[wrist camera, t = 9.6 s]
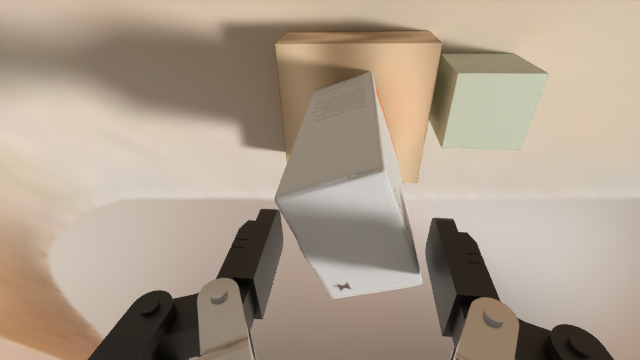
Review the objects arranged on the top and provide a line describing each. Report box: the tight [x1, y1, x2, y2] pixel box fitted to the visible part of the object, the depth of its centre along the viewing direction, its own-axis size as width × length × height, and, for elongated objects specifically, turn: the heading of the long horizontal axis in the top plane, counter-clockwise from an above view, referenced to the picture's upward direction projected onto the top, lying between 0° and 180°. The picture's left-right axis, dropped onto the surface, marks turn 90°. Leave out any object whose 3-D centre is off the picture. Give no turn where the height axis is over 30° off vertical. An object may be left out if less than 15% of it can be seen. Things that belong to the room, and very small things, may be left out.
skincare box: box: [275, 72, 423, 299], centre depth 17 cm, size 6×4×12 cm
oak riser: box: [275, 31, 442, 183], centre depth 24 cm, size 10×10×4 cm
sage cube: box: [429, 53, 549, 150], centre depth 22 cm, size 5×5×5 cm
